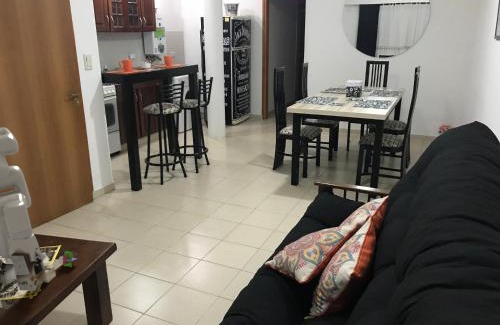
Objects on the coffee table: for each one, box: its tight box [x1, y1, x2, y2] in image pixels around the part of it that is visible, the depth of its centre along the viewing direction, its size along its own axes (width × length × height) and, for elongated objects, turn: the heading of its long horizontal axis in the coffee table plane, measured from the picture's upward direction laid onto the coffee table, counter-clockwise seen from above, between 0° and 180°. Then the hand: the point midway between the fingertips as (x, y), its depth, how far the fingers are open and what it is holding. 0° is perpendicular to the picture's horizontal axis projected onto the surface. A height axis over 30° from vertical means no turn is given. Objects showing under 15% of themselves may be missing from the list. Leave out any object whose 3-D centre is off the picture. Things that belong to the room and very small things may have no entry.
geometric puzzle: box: [58, 250, 77, 268], centre depth 176 cm, size 7×7×8 cm
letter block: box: [41, 264, 57, 283], centre depth 167 cm, size 6×5×5 cm
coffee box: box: [11, 242, 46, 292], centre depth 157 cm, size 9×6×16 cm
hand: (30, 271), depth 157 cm, fingers closed on coffee box, 7 cm apart
